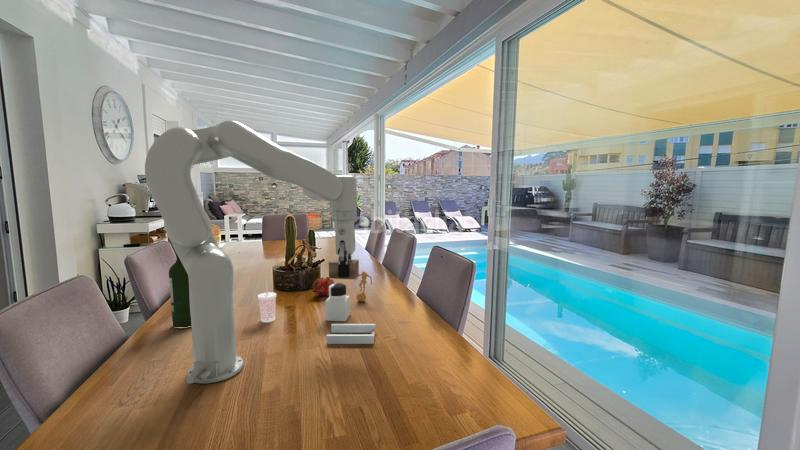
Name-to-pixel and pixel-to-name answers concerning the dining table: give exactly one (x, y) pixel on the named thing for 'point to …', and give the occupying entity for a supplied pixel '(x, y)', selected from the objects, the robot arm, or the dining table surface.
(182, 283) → the wine bottle
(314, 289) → the dragon fruit
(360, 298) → the figurine
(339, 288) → the medicine bottle
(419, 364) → the dining table surface
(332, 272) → the block
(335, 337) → the channel
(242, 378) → the dining table surface
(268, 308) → the beverage cup
